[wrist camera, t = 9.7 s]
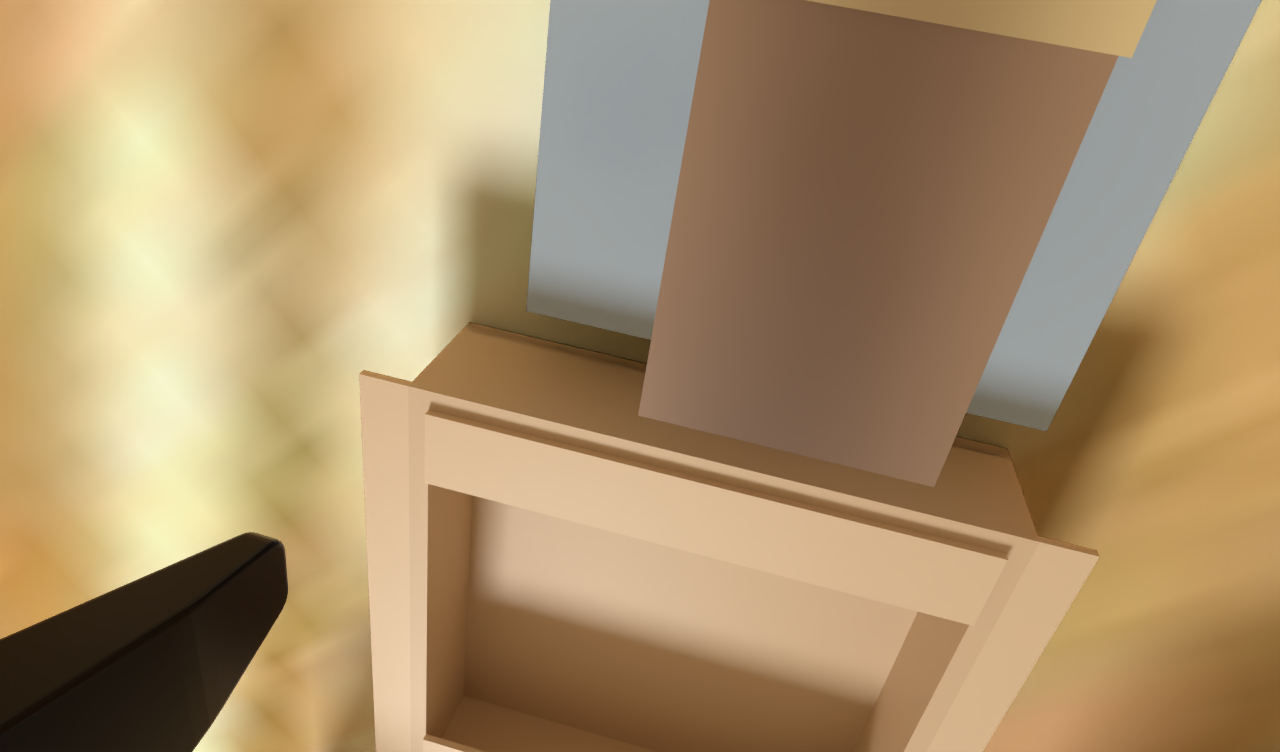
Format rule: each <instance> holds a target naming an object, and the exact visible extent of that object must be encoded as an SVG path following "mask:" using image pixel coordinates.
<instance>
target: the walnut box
mask: <svg viewBox="0 0 1280 752" xmlns="http://www.w3.org/2000/svg"><path fill="white" fill-rule="evenodd" d="M1156 1H1157V0H710V1H709V7H708V12H707V18H706V24H705V30H704V36H703V41H702V47H701V53H700V59H699V65H698V70H697V76H696V82H695V88H694V94H693V99H692V105H691V111H690V117H689V123H688V128H687V134H686V140H685V146H684V152H683V157H682V163H681V169H680V175H679V181H678V186H677V192H676V198H675V204H674V210H673V215H672V221H671V227H670V233H669V239H668V244H667V250H666V256H665V262H664V268H663V273H662V279H661V285H660V291H659V297H658V302H657V308H656V314H655V320H654V326H653V331H652V337H651V343H650V349H649V355H648V361H647V366H646V372H645V378H644V384H643V390H642V395H641V401H640V407H639V413H638V416H642V417H646V418H650V419H655V420H659V421H663V422H667V423H671V424H675V425H679V426H683V427H688V428H692V429H696V430H700V431H704V432H708V433H712V434H716V435H721V436H725V437H729V438H733V439H737V440H741V441H745V442H749V443H754V444H758V445H762V446H766V447H770V448H774V449H778V450H782V451H787V452H791V453H795V454H799V455H803V456H807V457H811V458H815V459H820V460H824V461H828V462H832V463H836V464H840V465H844V466H848V467H852V468H857V469H861V470H865V471H869V472H873V473H877V474H881V475H885V476H890V477H894V478H898V479H902V480H906V481H910V482H914V483H918V484H923V485H927V486H931V487H934V486H935V484H936V482H937V479H938V477H939V475H940V472H941V470H942V468H943V465H944V463H945V461H946V458H947V456H948V454H949V451H950V449H951V447H952V444H953V442H954V440H955V437H956V435H957V433H958V430H959V428H960V426H961V423H962V421H963V418H964V416H965V414H966V411H967V409H968V407H969V404H970V402H971V400H972V397H973V395H974V393H975V390H976V388H977V386H978V383H979V381H980V379H981V376H982V374H983V372H984V369H985V367H986V365H987V362H988V360H989V358H990V355H991V353H992V351H993V348H994V346H995V344H996V341H997V339H998V337H999V334H1000V332H1001V330H1002V327H1003V325H1004V323H1005V320H1006V318H1007V316H1008V313H1009V311H1010V309H1011V306H1012V304H1013V302H1014V299H1015V297H1016V295H1017V292H1018V290H1019V288H1020V285H1021V283H1022V281H1023V278H1024V276H1025V274H1026V271H1027V269H1028V267H1029V264H1030V262H1031V260H1032V257H1033V255H1034V253H1035V250H1036V248H1037V246H1038V243H1039V241H1040V239H1041V236H1042V234H1043V232H1044V229H1045V227H1046V225H1047V222H1048V220H1049V218H1050V215H1051V213H1052V211H1053V208H1054V206H1055V204H1056V201H1057V199H1058V197H1059V194H1060V192H1061V190H1062V187H1063V185H1064V183H1065V180H1066V178H1067V176H1068V173H1069V171H1070V169H1071V166H1072V164H1073V162H1074V159H1075V157H1076V155H1077V152H1078V150H1079V148H1080V145H1081V143H1082V140H1083V138H1084V136H1085V133H1086V131H1087V129H1088V126H1089V124H1090V122H1091V119H1092V117H1093V115H1094V112H1095V110H1096V108H1097V105H1098V103H1099V101H1100V98H1101V96H1102V94H1103V91H1104V89H1105V87H1106V84H1107V82H1108V80H1109V77H1110V75H1111V73H1112V70H1113V68H1114V66H1115V63H1116V61H1117V59H1118V56H1123V57H1129V58H1132V56H1133V54H1134V51H1135V49H1136V47H1137V45H1138V42H1139V40H1140V38H1141V35H1142V33H1143V31H1144V29H1145V26H1146V24H1147V22H1148V19H1149V17H1150V15H1151V13H1152V10H1153V8H1154V6H1155V3H1156Z"/></svg>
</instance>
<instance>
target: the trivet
mask: <svg viewBox="0 0 1280 752" xmlns="http://www.w3.org/2000/svg"><path fill="white" fill-rule="evenodd" d="M709 1H710V0H551V2H550V15H549V28H548V40H547V53H546V66H545V78H544V91H543V104H542V117H541V129H540V142H539V155H538V167H537V180H536V193H535V206H534V218H533V231H532V244H531V256H530V269H529V282H528V295H527V307H526V311H528V312H532V313H536V314H541V315H545V316H549V317H554V318H558V319H562V320H567V321H571V322H575V323H580V324H584V325H588V326H593V327H597V328H601V329H606V330H610V331H614V332H619V333H623V334H627V335H632V336H636V337H640V338H644V339H649V340H651V337H652V331H653V326H654V320H655V314H656V308H657V302H658V297H659V291H660V285H661V279H662V273H663V268H664V262H665V256H666V250H667V244H668V239H669V233H670V227H671V221H672V215H673V210H674V204H675V198H676V192H677V186H678V181H679V175H680V169H681V163H682V157H683V152H684V146H685V140H686V134H687V128H688V123H689V117H690V111H691V105H692V99H693V94H694V88H695V82H696V76H697V70H698V65H699V59H700V53H701V47H702V41H703V36H704V30H705V24H706V18H707V12H708V7H709ZM1261 1H1262V0H1157V1H1156V3H1155V6H1154V8H1153V10H1152V13H1151V15H1150V17H1149V19H1148V22H1147V24H1146V26H1145V29H1144V31H1143V33H1142V35H1141V38H1140V40H1139V42H1138V45H1137V47H1136V49H1135V51H1134V54H1133V56H1132V58H1129V57H1123V56H1118V59H1117V61H1116V63H1115V66H1114V68H1113V70H1112V73H1111V75H1110V77H1109V80H1108V82H1107V84H1106V87H1105V89H1104V91H1103V94H1102V96H1101V98H1100V101H1099V103H1098V105H1097V108H1096V110H1095V112H1094V115H1093V117H1092V119H1091V122H1090V124H1089V126H1088V129H1087V131H1086V133H1085V136H1084V138H1083V140H1082V143H1081V145H1080V148H1079V150H1078V152H1077V155H1076V157H1075V159H1074V162H1073V164H1072V166H1071V169H1070V171H1069V173H1068V176H1067V178H1066V180H1065V183H1064V185H1063V187H1062V190H1061V192H1060V194H1059V197H1058V199H1057V201H1056V204H1055V206H1054V208H1053V211H1052V213H1051V215H1050V218H1049V220H1048V222H1047V225H1046V227H1045V229H1044V232H1043V234H1042V236H1041V239H1040V241H1039V243H1038V246H1037V248H1036V250H1035V253H1034V255H1033V257H1032V260H1031V262H1030V264H1029V267H1028V269H1027V271H1026V274H1025V276H1024V278H1023V281H1022V283H1021V285H1020V288H1019V290H1018V292H1017V295H1016V297H1015V299H1014V302H1013V304H1012V306H1011V309H1010V311H1009V313H1008V316H1007V318H1006V320H1005V323H1004V325H1003V327H1002V330H1001V332H1000V334H999V337H998V339H997V341H996V344H995V346H994V348H993V351H992V353H991V355H990V358H989V360H988V362H987V365H986V367H985V369H984V372H983V374H982V376H981V379H980V381H979V383H978V386H977V388H976V390H975V393H974V395H973V397H972V400H971V402H970V404H969V407H968V409H967V411H966V413H969V414H973V415H977V416H982V417H986V418H990V419H995V420H999V421H1003V422H1008V423H1012V424H1016V425H1021V426H1025V427H1029V428H1034V429H1038V430H1042V431H1047V430H1048V428H1049V426H1050V424H1051V422H1052V420H1053V418H1054V416H1055V414H1056V412H1057V410H1058V408H1059V406H1060V404H1061V402H1062V400H1063V398H1064V396H1065V394H1066V392H1067V390H1068V388H1069V386H1070V384H1071V382H1072V380H1073V378H1074V376H1075V374H1076V372H1077V370H1078V368H1079V366H1080V363H1081V361H1082V359H1083V357H1084V355H1085V353H1086V351H1087V349H1088V347H1089V345H1090V343H1091V341H1092V339H1093V337H1094V335H1095V333H1096V331H1097V329H1098V327H1099V325H1100V323H1101V321H1102V319H1103V317H1104V315H1105V313H1106V311H1107V309H1108V307H1109V305H1110V303H1111V301H1112V299H1113V297H1114V295H1115V293H1116V291H1117V289H1118V287H1119V285H1120V283H1121V281H1122V279H1123V277H1124V275H1125V273H1126V271H1127V269H1128V267H1129V265H1130V263H1131V261H1132V259H1133V257H1134V255H1135V253H1136V251H1137V249H1138V247H1139V245H1140V243H1141V241H1142V239H1143V237H1144V235H1145V233H1146V231H1147V229H1148V227H1149V225H1150V223H1151V221H1152V219H1153V217H1154V215H1155V213H1156V211H1157V209H1158V207H1159V205H1160V203H1161V201H1162V199H1163V197H1164V195H1165V193H1166V191H1167V189H1168V187H1169V185H1170V183H1171V181H1172V179H1173V177H1174V175H1175V173H1176V171H1177V169H1178V167H1179V165H1180V163H1181V161H1182V159H1183V157H1184V155H1185V153H1186V151H1187V149H1188V147H1189V145H1190V143H1191V141H1192V139H1193V137H1194V135H1195V133H1196V131H1197V129H1198V127H1199V125H1200V123H1201V121H1202V119H1203V117H1204V115H1205V113H1206V111H1207V109H1208V107H1209V105H1210V103H1211V101H1212V99H1213V97H1214V95H1215V93H1216V91H1217V89H1218V87H1219V85H1220V83H1221V81H1222V79H1223V77H1224V75H1225V73H1226V71H1227V69H1228V67H1229V65H1230V63H1231V61H1232V59H1233V57H1234V55H1235V53H1236V51H1237V49H1238V47H1239V45H1240V43H1241V41H1242V39H1243V37H1244V35H1245V33H1246V31H1247V29H1248V27H1249V25H1250V23H1251V21H1252V19H1253V17H1254V15H1255V13H1256V11H1257V9H1258V7H1259V5H1260V3H1261Z"/></svg>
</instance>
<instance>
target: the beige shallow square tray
mask: <svg viewBox="0 0 1280 752" xmlns="http://www.w3.org/2000/svg"><path fill="white" fill-rule="evenodd" d="M646 366H647V364H645V363H640V362H636V361H632V360H628V359H623V358H619V357H615V356H611V355H606V354H602V353H598V352H593V351H589V350H585V349H581V348H576V347H572V346H568V345H564V344H559V343H555V342H551V341H547V340H542V339H538V338H534V337H530V336H525V335H521V334H517V333H513V332H508V331H504V330H500V329H496V328H491V327H487V326H483V325H479V324H474V323H470V322H469V323H468V324H467V325H466V326H465V328H464V329H463V330H462V331H461V332H460V333H459V334H458V335H457V336H456V337H455V338H454V339H453V340H452V341H451V342H450V343H449V344H448V345H447V346H446V347H445V348H444V349H443V350H442V351H441V353H440V354H439V355H438V356H437V357H436V358H435V359H434V360H433V361H432V362H431V363H430V364H429V365H428V366H427V367H426V368H425V369H424V370H423V371H422V372H421V373H420V374H419V375H418V377H417V378H416V379H415V380H414V381H413V382H410V381H406V380H402V379H398V378H394V377H390V376H386V375H382V374H378V373H374V372H370V371H366V370H363V371H362V372H361V373H360V374H359V381H360V403H361V426H362V449H363V471H364V494H365V517H366V539H367V562H368V584H369V607H370V630H371V652H372V675H373V698H374V720H375V743H376V752H983V750H984V749H985V747H986V745H987V744H988V742H989V740H990V739H991V737H992V735H993V734H994V732H995V730H996V729H997V727H998V725H999V724H1000V722H1001V720H1002V719H1003V717H1004V715H1005V714H1006V712H1007V710H1008V709H1009V707H1010V705H1011V704H1012V702H1013V700H1014V699H1015V697H1016V695H1017V694H1018V692H1019V690H1020V689H1021V687H1022V685H1023V684H1024V682H1025V680H1026V679H1027V677H1028V675H1029V674H1030V672H1031V670H1032V669H1033V667H1034V665H1035V664H1036V662H1037V660H1038V659H1039V657H1040V655H1041V654H1042V652H1043V650H1044V649H1045V647H1046V645H1047V644H1048V642H1049V640H1050V639H1051V637H1052V635H1053V634H1054V632H1055V630H1056V629H1057V627H1058V625H1059V624H1060V622H1061V620H1062V619H1063V617H1064V615H1065V614H1066V612H1067V610H1068V609H1069V607H1070V605H1071V604H1072V602H1073V600H1074V599H1075V597H1076V595H1077V594H1078V592H1079V590H1080V589H1081V587H1082V585H1083V584H1084V582H1085V580H1086V579H1087V577H1088V575H1089V574H1090V572H1091V570H1092V569H1093V567H1094V565H1095V564H1096V562H1097V560H1098V559H1099V557H1100V556H1099V554H1098V552H1097V550H1093V549H1089V548H1085V547H1081V546H1077V545H1073V544H1069V543H1065V542H1061V541H1057V540H1053V539H1049V538H1045V537H1041V536H1038V535H1037V532H1036V529H1035V527H1034V524H1033V521H1032V518H1031V515H1030V512H1029V509H1028V507H1027V504H1026V501H1025V498H1024V495H1023V492H1022V489H1021V486H1020V484H1019V481H1018V478H1017V475H1016V472H1015V469H1014V466H1013V463H1012V461H1011V458H1010V455H1009V452H1008V449H1006V448H1002V447H998V446H994V445H989V444H985V443H981V442H977V441H972V440H968V439H964V438H960V437H955V440H954V442H953V444H952V447H951V449H950V451H949V454H948V456H947V458H946V461H945V463H944V465H943V468H942V470H941V472H940V475H939V477H938V479H937V482H936V484H935V486H934V487H931V486H927V485H923V484H918V483H914V482H910V481H906V480H902V479H898V478H894V477H890V476H885V475H881V474H877V473H873V472H869V471H865V470H861V469H857V468H852V467H848V466H844V465H840V464H836V463H832V462H828V461H824V460H820V459H815V458H811V457H807V456H803V455H799V454H795V453H791V452H787V451H782V450H778V449H774V448H770V447H766V446H762V445H758V444H754V443H749V442H745V441H741V440H737V439H733V438H729V437H725V436H721V435H716V434H712V433H708V432H704V431H700V430H696V429H692V428H688V427H683V426H679V425H675V424H671V423H667V422H663V421H659V420H655V419H650V418H646V417H642V416H638V413H639V407H640V401H641V395H642V390H643V384H644V378H645V372H646Z"/></svg>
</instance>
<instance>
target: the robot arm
mask: <svg viewBox="0 0 1280 752" xmlns="http://www.w3.org/2000/svg"><path fill="white" fill-rule="evenodd" d="M287 594H288V581H287V569H286V557H285V548H284V545H283V544H282V542H281V541H279V540H278V539H274V538H271V537H268V536H264V535H261V534H258V533H253V532H249V533H244V534H241V535H239V536H236V537H234V538H232V539H229V540H227V541H225V542H223V543H220V544H218V545H216V546H213V547H211V548H209V549H207V550H204V551H202V552H200V553H197V554H195V555H193V556H190V557H188V558H186V559H184V560H181V561H179V562H177V563H174V564H172V565H170V566H168V567H165V568H163V569H161V570H158V571H156V572H154V573H151V574H149V575H147V576H145V577H142V578H140V579H138V580H135V581H133V582H131V583H129V584H126V585H124V586H122V587H119V588H117V589H115V590H112V591H110V592H108V593H106V594H103V595H101V596H99V597H96V598H94V599H92V600H90V601H87V602H85V603H83V604H80V605H78V606H76V607H73V608H71V609H69V610H67V611H64V612H62V613H60V614H57V615H55V616H53V617H51V618H48V619H46V620H44V621H41V622H39V623H37V624H34V625H32V626H30V627H28V628H25V629H23V630H21V631H18V632H16V633H14V634H12V635H9V636H7V637H5V638H2V639H0V752H192V751H193V750H194V749H195V747H196V746H197V745H198V743H199V742H200V740H201V739H202V738H203V736H204V735H205V733H206V732H207V731H208V729H209V728H210V726H211V725H212V723H213V722H214V720H215V719H216V717H217V716H218V714H219V713H220V711H221V709H222V708H223V706H224V705H225V703H226V701H227V700H228V698H229V696H230V695H231V693H232V692H233V690H234V688H235V687H236V685H237V683H238V682H239V680H240V678H241V677H242V675H243V673H244V672H245V670H246V668H247V667H248V665H249V664H250V662H251V660H252V659H253V657H254V655H255V654H256V652H257V650H258V649H259V647H260V645H261V644H262V642H263V641H264V639H265V637H266V636H267V634H268V632H269V631H270V629H271V627H272V626H273V624H274V622H275V621H276V619H277V618H278V616H279V614H280V613H281V611H282V609H283V607H284V605H285V602H286V599H287Z"/></svg>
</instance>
